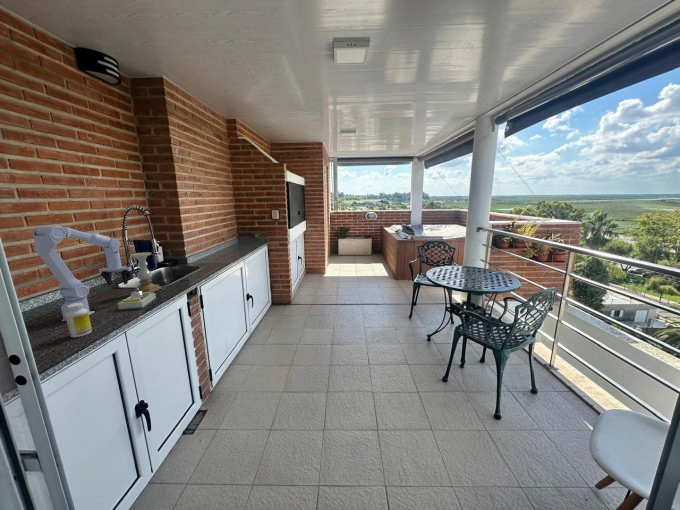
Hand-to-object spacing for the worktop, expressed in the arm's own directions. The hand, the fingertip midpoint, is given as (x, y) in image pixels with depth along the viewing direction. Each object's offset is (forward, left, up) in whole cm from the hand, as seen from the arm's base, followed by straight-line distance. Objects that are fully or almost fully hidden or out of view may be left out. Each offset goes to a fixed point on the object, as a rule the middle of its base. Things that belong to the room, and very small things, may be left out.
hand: (118, 284), depth 148 cm
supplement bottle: (-40, -7, -10) cm, 42 cm away
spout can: (-7, -12, -9) cm, 17 cm away
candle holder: (+15, -6, -10) cm, 19 cm away
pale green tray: (-7, -12, -10) cm, 17 cm away
